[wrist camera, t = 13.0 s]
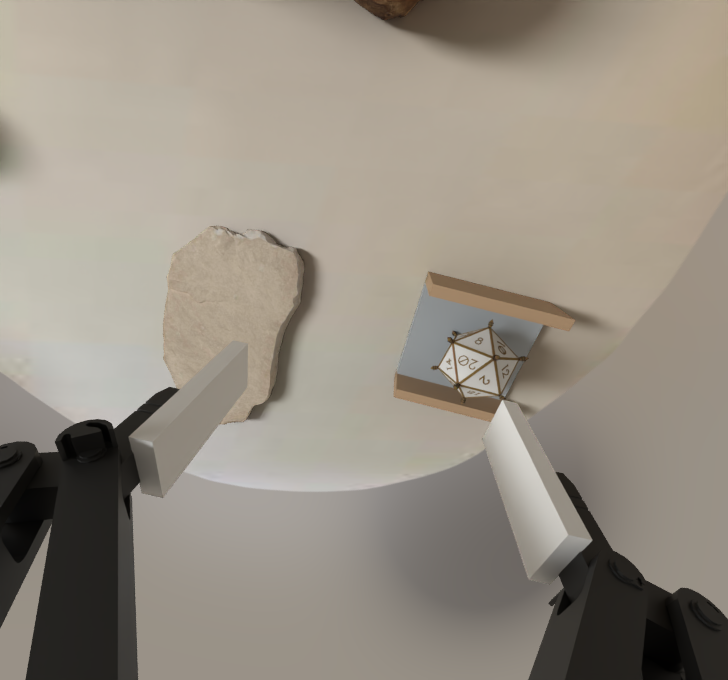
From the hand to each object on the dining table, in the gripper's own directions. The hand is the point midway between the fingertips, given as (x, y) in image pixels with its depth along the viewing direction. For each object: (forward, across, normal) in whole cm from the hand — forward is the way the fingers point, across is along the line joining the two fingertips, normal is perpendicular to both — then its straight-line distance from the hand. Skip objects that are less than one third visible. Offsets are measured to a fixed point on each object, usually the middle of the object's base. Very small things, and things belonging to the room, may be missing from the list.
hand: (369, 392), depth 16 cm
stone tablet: (+22, -19, -12) cm, 32 cm away
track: (+21, +11, -6) cm, 25 cm away
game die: (+20, +12, -6) cm, 24 cm away
